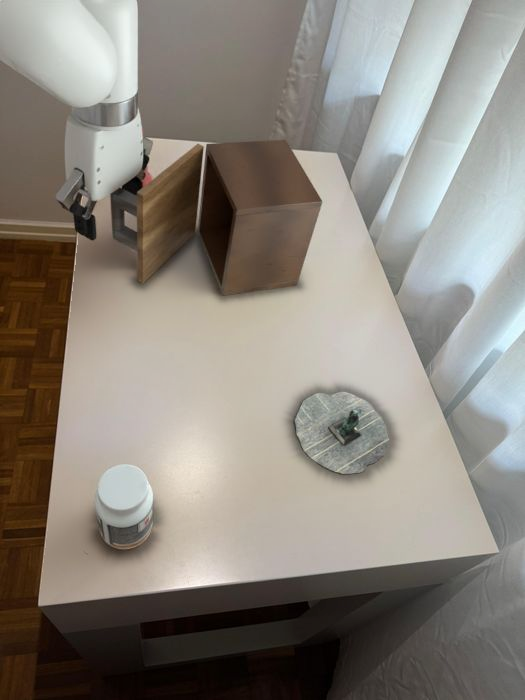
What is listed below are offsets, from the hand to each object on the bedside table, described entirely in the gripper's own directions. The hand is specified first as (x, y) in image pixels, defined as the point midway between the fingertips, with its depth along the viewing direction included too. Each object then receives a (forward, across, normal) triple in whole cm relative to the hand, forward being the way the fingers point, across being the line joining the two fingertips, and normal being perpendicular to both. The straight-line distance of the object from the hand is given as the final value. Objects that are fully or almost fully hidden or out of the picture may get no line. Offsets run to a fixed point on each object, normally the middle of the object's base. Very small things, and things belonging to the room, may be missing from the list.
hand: (109, 217), depth 80 cm
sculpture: (+7, +6, +42) cm, 43 cm away
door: (+7, -5, +3) cm, 9 cm away
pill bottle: (+8, +31, +27) cm, 42 cm away
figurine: (+7, -14, -6) cm, 17 cm away
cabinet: (+7, -13, +16) cm, 22 cm away
